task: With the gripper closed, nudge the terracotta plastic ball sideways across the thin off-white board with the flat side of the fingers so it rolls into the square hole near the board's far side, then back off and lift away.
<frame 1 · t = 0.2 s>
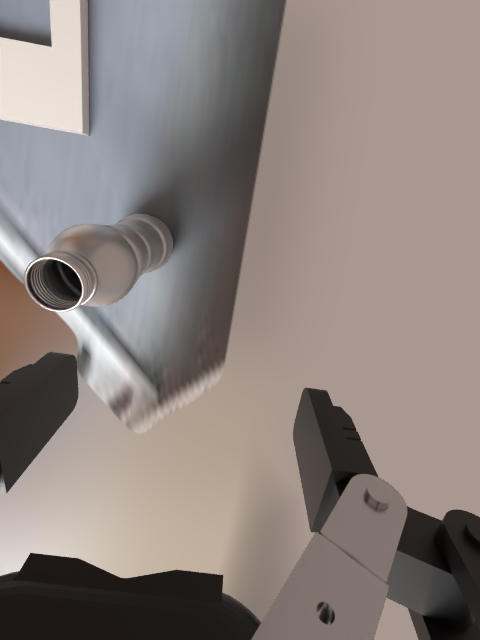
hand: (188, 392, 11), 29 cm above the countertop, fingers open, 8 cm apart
plastic bottle: (149, 240, 38), on the countertop
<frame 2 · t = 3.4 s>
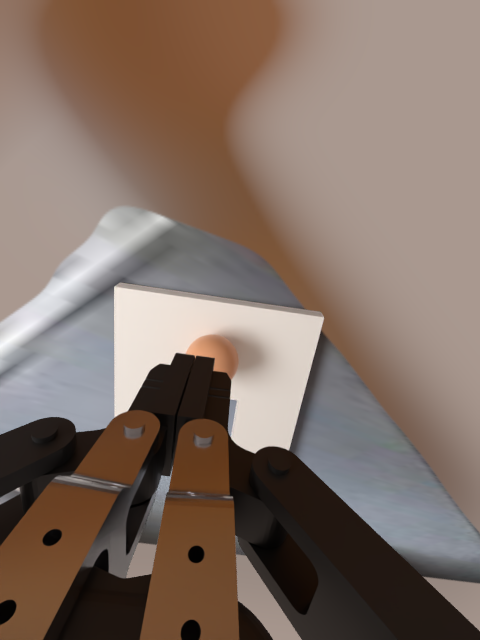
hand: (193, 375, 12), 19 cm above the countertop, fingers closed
deck: (210, 382, 35), on the countertop
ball: (211, 361, 29), point 4 cm above the countertop, touching deck
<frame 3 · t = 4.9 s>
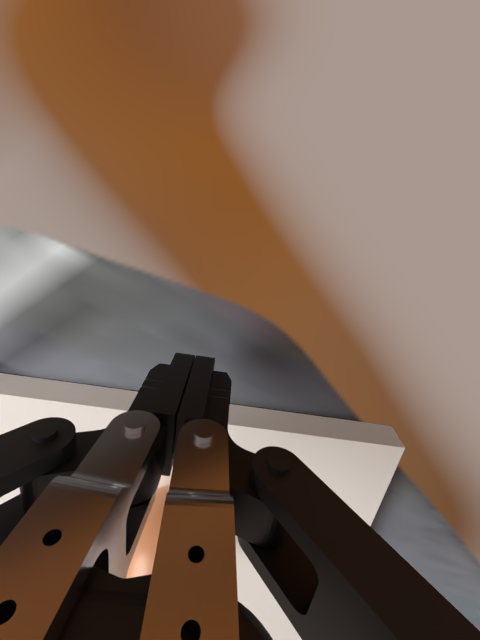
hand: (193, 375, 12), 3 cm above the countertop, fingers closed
deck: (181, 532, 19), on the countertop
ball: (172, 548, 14), point 4 cm above the countertop, touching deck
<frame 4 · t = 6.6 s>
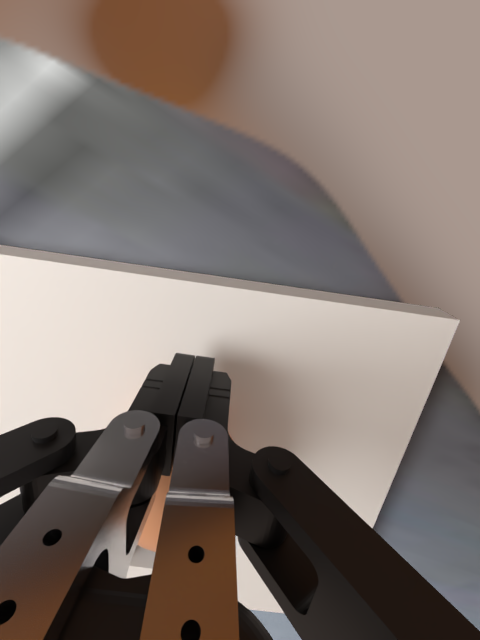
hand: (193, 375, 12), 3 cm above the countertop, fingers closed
deck: (191, 455, 17), on the countertop
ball: (176, 472, 12), point 4 cm above the countertop, tilted 39°, touching deck, gripper
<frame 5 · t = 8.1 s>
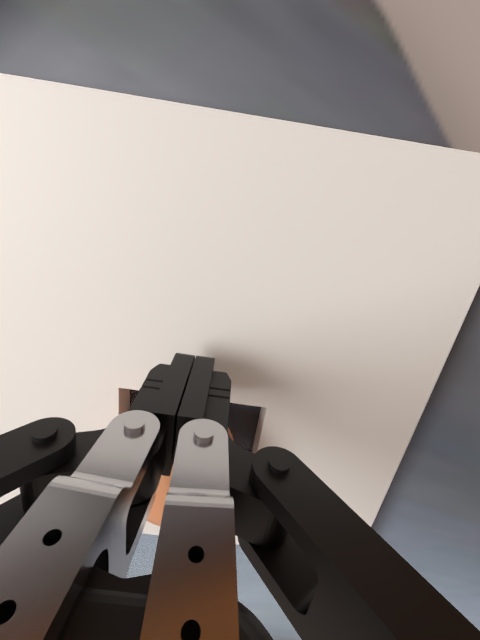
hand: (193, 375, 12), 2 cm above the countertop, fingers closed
deck: (199, 365, 15), on the countertop
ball: (179, 459, 14), point 2 cm above the countertop, tilted 151°
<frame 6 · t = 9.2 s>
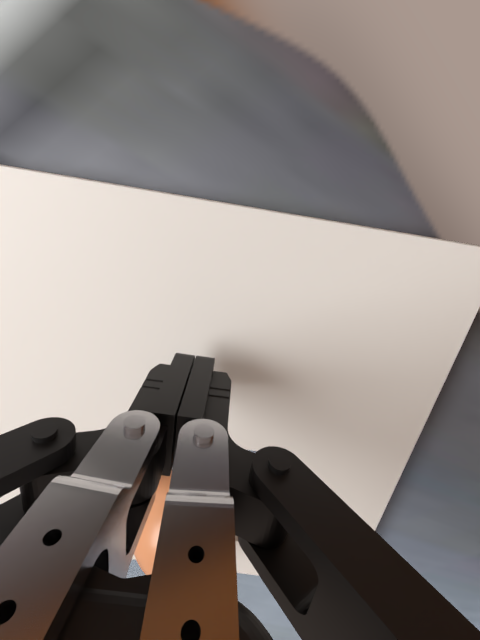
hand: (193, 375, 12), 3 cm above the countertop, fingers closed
deck: (204, 409, 16), on the countertop
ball: (184, 522, 16), point 2 cm above the countertop, tilted 170°
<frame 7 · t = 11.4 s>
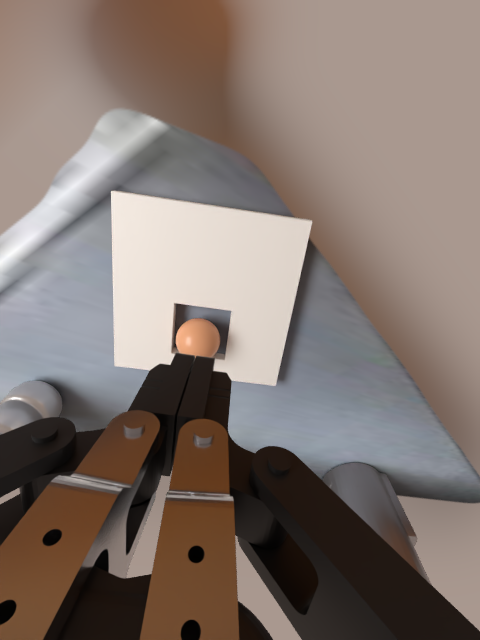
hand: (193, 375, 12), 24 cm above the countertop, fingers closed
plastic bottle: (45, 394, 42), on the countertop
deck: (205, 296, 36), on the countertop
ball: (198, 340, 36), point 2 cm above the countertop, tilted 172°
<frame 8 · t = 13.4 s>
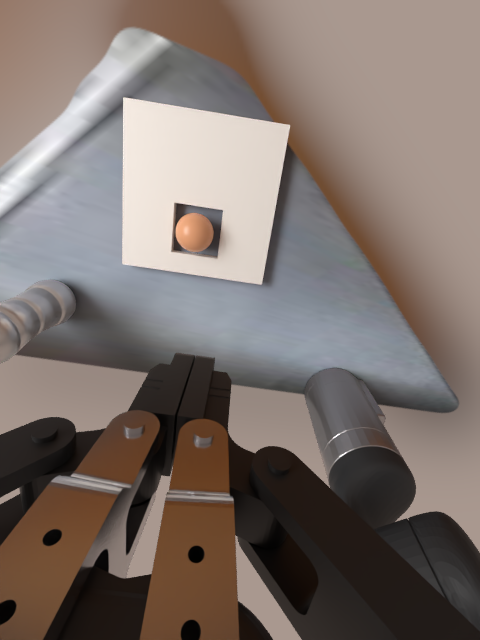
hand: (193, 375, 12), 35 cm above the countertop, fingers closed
plastic bottle: (61, 296, 48), on the countertop
deck: (201, 200, 43), on the countertop
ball: (194, 232, 42), point 2 cm above the countertop, tilted 166°
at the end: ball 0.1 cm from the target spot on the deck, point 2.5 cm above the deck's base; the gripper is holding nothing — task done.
